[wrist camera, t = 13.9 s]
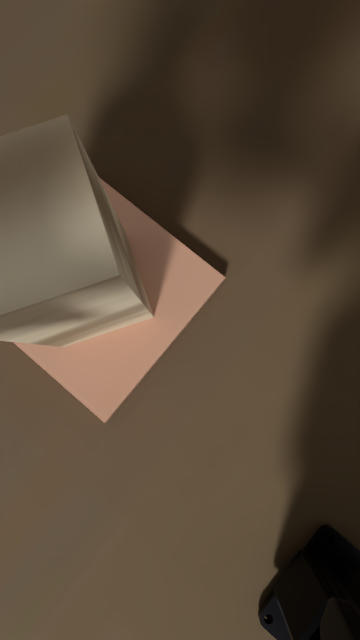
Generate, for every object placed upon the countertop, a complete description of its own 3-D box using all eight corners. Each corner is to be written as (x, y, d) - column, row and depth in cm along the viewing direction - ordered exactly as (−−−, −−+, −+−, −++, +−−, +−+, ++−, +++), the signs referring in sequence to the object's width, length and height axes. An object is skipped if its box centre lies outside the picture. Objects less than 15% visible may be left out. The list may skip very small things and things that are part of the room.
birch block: (153, 317, 20) (120, 274, 10) (65, 347, 20) (-58, 334, 10) (125, 232, 21) (67, 114, 11) (39, 261, 20) (-100, 168, 11)
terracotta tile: (223, 282, 21) (225, 277, 20) (109, 419, 20) (104, 422, 19) (93, 179, 22) (88, 168, 21) (-20, 305, 21) (-32, 302, 20)
